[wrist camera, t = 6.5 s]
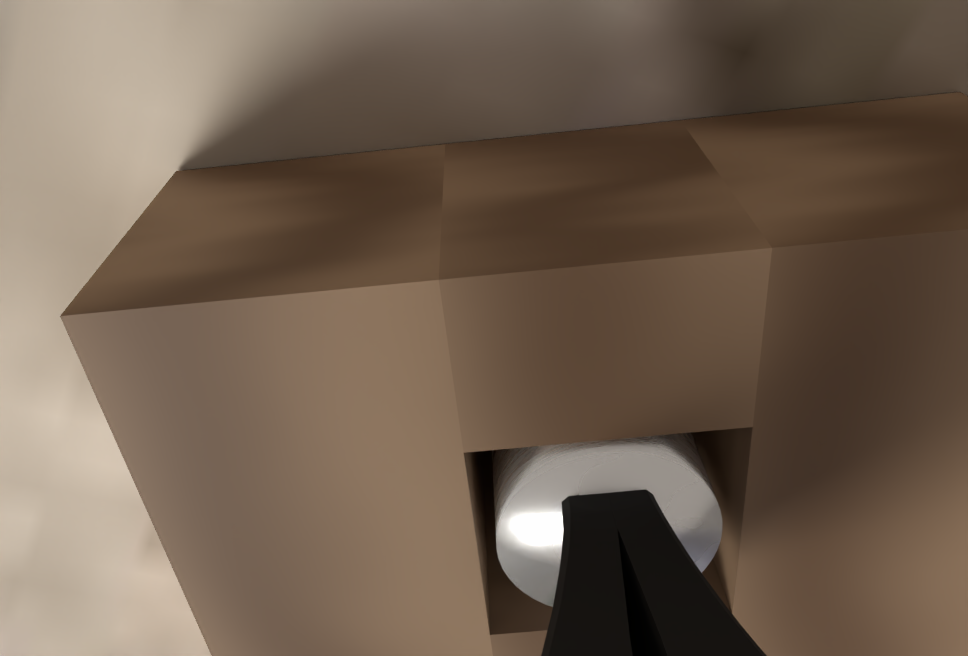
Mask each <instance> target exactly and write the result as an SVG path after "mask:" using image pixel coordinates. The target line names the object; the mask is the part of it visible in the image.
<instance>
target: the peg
mask: <svg viewBox="0 0 968 656" xmlns="http://www.w3.org/2000/svg"><path fill="white" fill-rule="evenodd" d="M492 466H493V487H494V508H495V528H496V549H497V554H498V559H499V561H500V564H501V566H502V569H503V570H504V572H505V573H506V575H507V576H508V578H509V579H510V580H511V581H512V582H513V583H514V585H515V586H516V587H518V588H519V589H520V590H521V591H522V592H524V593H525V594H527V595H528V596H530V597H531V598H533V599H535V600H537V601H539V602H541V603H543V604H545V605H548V606H551V607H553V604H554V598H555V592H556V587H557V581H558V575H559V569H560V561H561V552H562V542H563V518H562V501H563V500H565V499H566V498H567V497H568V496H577V495H588V494H600V493H611V492H622V491H633V490H645V489H646V490H648V491H649V492H650V493H652V494H653V495H654V497H655V499H656V501H657V503H658V505H659V507H660V509H661V510H662V512H663V514H664V516H665V517H666V519H667V521H668V522H669V524H670V526H671V527H672V529H673V531H674V532H675V534H676V536H677V537H678V539H679V540H680V542H681V543H682V545H683V546H684V548H685V549H686V551H687V552H688V554H689V555H690V557H691V558H692V560H693V561H694V563H695V564H696V566H697V567H698V569H699V570H700V571H701V573H702V572H703V571H704V570H705V569H706V567H707V566H708V565H709V563H710V562H711V561H712V559H713V557H714V555H715V553H716V552H717V549H718V546H719V544H720V541H721V536H722V515H721V510H720V507H719V505H718V502H717V499H716V497H715V494H714V491H713V489H712V486H711V483H710V481H709V478H708V475H707V473H706V470H705V467H704V465H703V462H702V459H701V457H700V454H699V451H698V448H697V446H696V443H695V440H694V438H693V435H692V432H691V433H679V434H668V435H657V436H646V437H635V438H623V439H612V440H601V441H590V442H578V443H567V444H556V445H545V446H533V447H522V448H511V449H500V450H492Z"/></svg>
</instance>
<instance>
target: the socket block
mask: <svg viewBox="0 0 968 656" xmlns="http://www.w3.org/2000/svg"><path fill="white" fill-rule="evenodd" d="M60 317H61V319H62V321H63V324H64V326H65V328H66V330H67V333H68V335H69V337H70V339H71V342H72V344H73V346H74V348H75V350H76V353H77V355H78V357H79V359H80V362H81V364H82V366H83V368H84V371H85V373H86V375H87V377H88V380H89V382H90V384H91V386H92V389H93V391H94V393H95V395H96V398H97V400H98V402H99V404H100V406H101V409H102V411H103V413H104V415H105V418H106V420H107V422H108V424H109V427H110V429H111V431H112V433H113V436H114V438H115V440H116V442H117V445H118V447H119V449H120V451H121V454H122V456H123V458H124V460H125V462H126V465H127V467H128V469H129V471H130V474H131V476H132V478H133V480H134V483H135V485H136V487H137V489H138V492H139V494H140V496H141V498H142V501H143V503H144V505H145V507H146V509H147V512H148V514H149V516H150V518H151V521H152V523H153V525H154V527H155V530H156V532H157V534H158V536H159V539H160V541H161V543H162V545H163V548H164V550H165V552H166V554H167V557H168V559H169V561H170V563H171V565H172V568H173V570H174V572H175V574H176V577H177V579H178V581H179V583H180V586H181V588H182V590H183V592H184V595H185V597H186V599H187V601H188V604H189V606H190V608H191V610H192V613H193V615H194V617H195V619H196V621H197V624H198V626H199V628H200V630H201V633H202V635H203V637H204V639H205V642H206V644H207V646H208V648H209V651H210V653H211V655H212V656H541V654H542V650H543V646H544V642H545V638H546V634H547V630H548V626H549V622H550V618H551V614H552V609H553V607H551V606H548V605H545V604H543V603H541V602H539V601H537V600H535V599H533V598H531V597H530V596H528V595H527V594H525V593H524V592H522V591H521V590H520V589H519V588H518V587H516V586H515V585H514V583H513V582H512V581H511V580H510V579H509V578H508V576H507V575H506V573H505V572H504V570H503V569H502V566H501V564H500V561H499V559H498V554H497V549H496V528H495V508H494V487H493V466H492V450H500V449H511V448H522V447H533V446H545V445H556V444H567V443H578V442H590V441H601V440H612V439H623V438H635V437H646V436H657V435H668V434H679V433H691V432H692V435H693V438H694V440H695V443H696V446H697V448H698V451H699V454H700V457H701V459H702V462H703V465H704V467H705V470H706V473H707V475H708V478H709V481H710V483H711V486H712V489H713V491H714V494H715V497H716V499H717V502H718V505H719V507H720V510H721V515H722V536H721V541H720V544H719V546H718V549H717V552H716V553H715V555H714V557H713V559H712V561H711V562H710V563H709V565H708V566H707V567H706V569H705V570H704V571H703V572H702V574H703V575H704V577H705V578H706V580H707V581H708V582H709V584H710V585H711V586H712V588H713V589H714V590H715V592H716V593H717V594H718V596H719V597H720V599H721V600H722V601H723V603H724V604H725V605H726V607H727V608H728V609H729V610H730V612H731V613H732V614H733V615H734V617H735V618H736V619H737V621H738V622H739V623H740V624H741V626H742V627H743V628H744V629H745V630H746V632H747V633H748V634H749V635H750V636H751V638H752V639H753V640H754V641H755V642H756V644H757V645H758V646H759V647H760V648H761V650H762V651H763V652H764V653H765V654H766V655H767V656H968V96H966V95H965V94H963V93H961V92H955V93H945V94H935V95H926V96H916V97H906V98H896V99H886V100H876V101H866V102H856V103H846V104H837V105H827V106H817V107H807V108H797V109H787V110H777V111H767V112H757V113H747V114H738V115H728V116H718V117H708V118H698V119H688V120H678V121H668V122H658V123H649V124H639V125H629V126H619V127H609V128H599V129H589V130H579V131H569V132H560V133H550V134H540V135H530V136H520V137H510V138H500V139H490V140H480V141H470V142H461V143H451V144H441V145H431V146H421V147H411V148H401V149H391V150H381V151H372V152H362V153H352V154H342V155H332V156H322V157H312V158H302V159H292V160H283V161H273V162H263V163H253V164H243V165H233V166H223V167H213V168H203V169H193V170H184V171H176V172H175V173H174V175H173V176H172V177H171V178H170V180H169V181H168V182H167V183H166V185H165V186H164V187H163V188H162V190H161V191H160V192H159V193H158V195H157V196H156V197H155V198H154V200H153V201H152V202H151V203H150V205H149V206H148V207H147V208H146V210H145V211H144V212H143V213H142V215H141V216H140V217H139V218H138V220H137V221H136V222H135V223H134V225H133V226H132V227H131V228H130V230H129V231H128V232H127V233H126V235H125V236H124V237H123V238H122V240H121V241H120V242H119V243H118V245H117V246H116V247H115V248H114V250H113V251H112V252H111V253H110V255H109V256H108V257H107V258H106V260H105V261H104V262H103V263H102V265H101V266H100V267H99V268H98V270H97V271H96V272H95V273H94V275H93V276H92V277H91V278H90V280H89V281H88V282H87V283H86V284H85V286H84V287H83V288H82V289H81V291H80V292H79V293H78V294H77V296H76V297H75V298H74V299H73V301H72V302H71V303H70V304H69V306H68V307H67V308H66V309H65V311H64V312H63V313H62V314H61V316H60Z"/></svg>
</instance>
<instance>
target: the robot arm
mask: <svg viewBox="0 0 968 656" xmlns="http://www.w3.org/2000/svg"><path fill="white" fill-rule="evenodd" d="M562 518H563V542H562V552H561V561H560V569H559V575H558V581H557V587H556V592H555V598H554V604H553V609H552V614H551V618H550V622H549V626H548V630H547V634H546V638H545V642H544V646H543V650H542V654H541V656H767V655H766V654H765V653H764V652H763V651H762V650H761V648H760V647H759V646H758V645H757V644H756V642H755V641H754V640H753V639H752V638H751V636H750V635H749V634H748V633H747V632H746V630H745V629H744V628H743V627H742V626H741V624H740V623H739V622H738V621H737V619H736V618H735V617H734V615H733V614H732V613H731V612H730V610H729V609H728V608H727V607H726V605H725V604H724V603H723V601H722V600H721V599H720V597H719V596H718V594H717V593H716V592H715V590H714V589H713V588H712V586H711V585H710V584H709V582H708V581H707V580H706V578H705V577H704V575H703V574H702V573H701V571H700V570H699V569H698V567H697V566H696V564H695V563H694V561H693V560H692V558H691V557H690V555H689V554H688V552H687V551H686V549H685V548H684V546H683V545H682V543H681V542H680V540H679V539H678V537H677V536H676V534H675V532H674V531H673V529H672V527H671V526H670V524H669V522H668V521H667V519H666V517H665V516H664V514H663V512H662V510H661V509H660V507H659V505H658V503H657V501H656V499H655V497H654V495H653V494H652V493H650V492H649V491H648V490H646V489H645V490H633V491H622V492H611V493H600V494H588V495H577V496H568V497H567V498H566V499H565V500H563V501H562Z"/></svg>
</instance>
